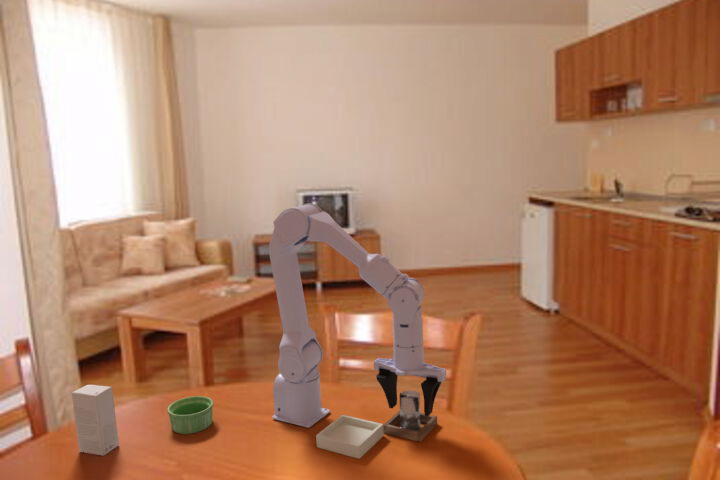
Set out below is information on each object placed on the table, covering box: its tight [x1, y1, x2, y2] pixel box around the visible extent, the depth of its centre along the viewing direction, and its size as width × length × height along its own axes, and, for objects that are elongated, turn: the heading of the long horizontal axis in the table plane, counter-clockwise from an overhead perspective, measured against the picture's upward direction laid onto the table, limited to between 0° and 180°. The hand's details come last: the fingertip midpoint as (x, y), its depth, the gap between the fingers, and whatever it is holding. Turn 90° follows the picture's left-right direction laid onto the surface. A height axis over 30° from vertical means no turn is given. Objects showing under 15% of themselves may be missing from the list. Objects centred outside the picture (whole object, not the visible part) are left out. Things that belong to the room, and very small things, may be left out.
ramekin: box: [167, 395, 214, 435], centre depth 116 cm, size 9×9×4 cm
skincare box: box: [71, 384, 120, 456], centre depth 107 cm, size 6×4×12 cm
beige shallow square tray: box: [315, 414, 385, 460], centre depth 106 cm, size 9×9×2 cm
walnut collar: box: [383, 409, 438, 443], centre depth 111 cm, size 8×8×2 cm
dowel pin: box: [399, 390, 422, 432], centre depth 110 cm, size 4×4×7 cm
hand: (410, 409), depth 110 cm, fingers open, 7 cm apart
